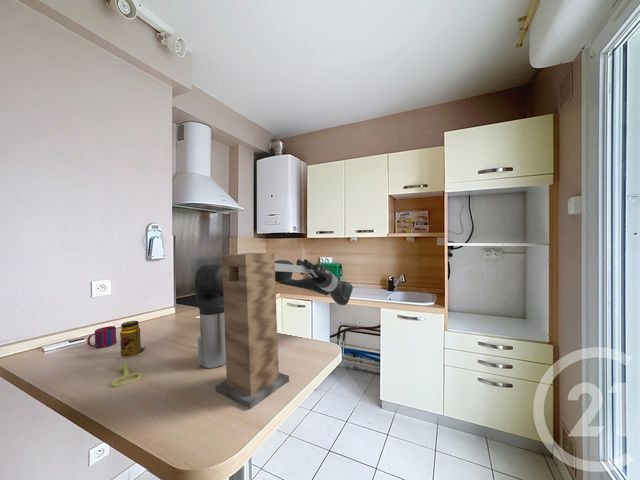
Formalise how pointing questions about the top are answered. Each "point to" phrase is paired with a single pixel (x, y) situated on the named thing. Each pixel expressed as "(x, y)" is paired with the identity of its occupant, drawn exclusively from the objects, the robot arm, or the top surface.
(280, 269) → the pin
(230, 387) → the post
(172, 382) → the top surface
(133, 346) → the condiment
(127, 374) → the yellow-green flat looped piece
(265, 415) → the top surface
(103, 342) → the mug
